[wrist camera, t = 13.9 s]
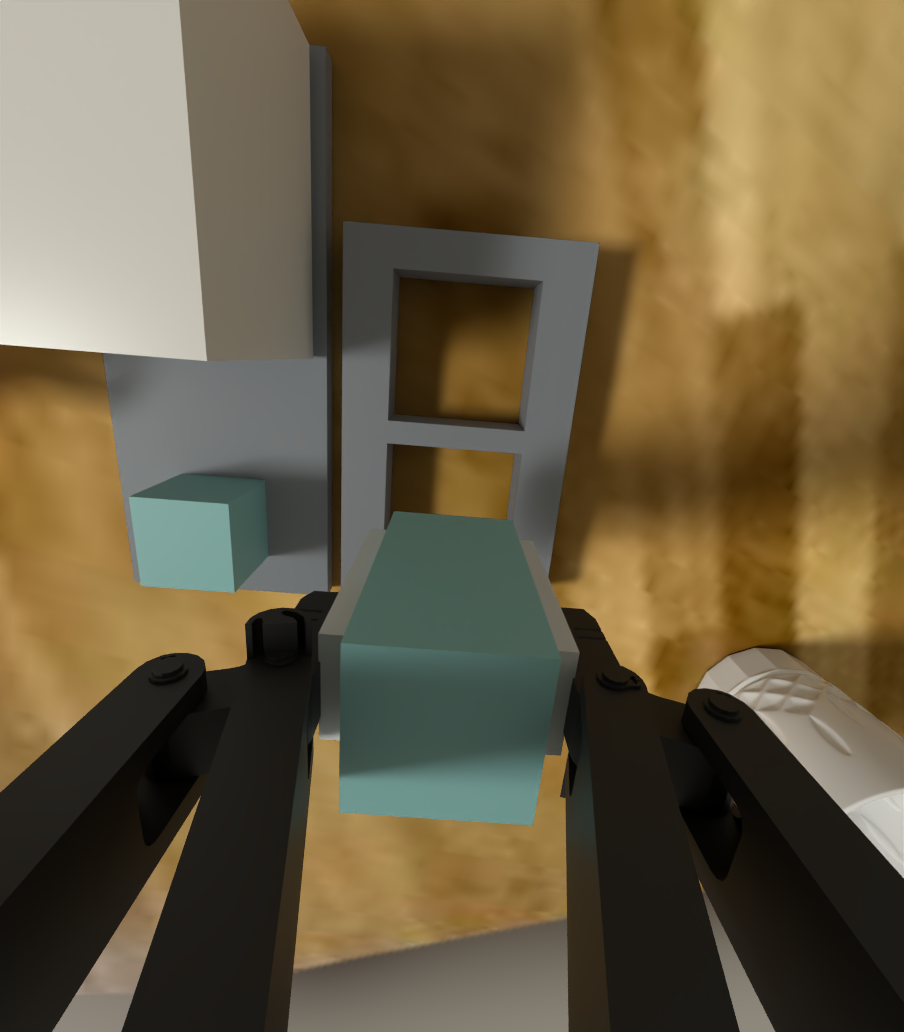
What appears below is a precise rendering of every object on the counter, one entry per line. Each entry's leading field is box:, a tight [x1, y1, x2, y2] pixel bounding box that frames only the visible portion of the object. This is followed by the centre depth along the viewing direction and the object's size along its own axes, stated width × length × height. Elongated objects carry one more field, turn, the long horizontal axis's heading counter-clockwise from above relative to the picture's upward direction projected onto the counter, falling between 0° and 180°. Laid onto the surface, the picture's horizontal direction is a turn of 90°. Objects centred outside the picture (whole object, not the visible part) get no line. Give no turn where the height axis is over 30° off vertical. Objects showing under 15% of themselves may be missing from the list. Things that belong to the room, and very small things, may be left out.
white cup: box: [697, 648, 904, 878], centre depth 24 cm, size 8×8×10 cm
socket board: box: [341, 221, 600, 587], centre depth 22 cm, size 16×10×2 cm, turn 176°
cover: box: [0, 0, 313, 361], centre depth 15 cm, size 11×9×10 cm
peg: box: [339, 511, 561, 825], centre depth 13 cm, size 4×4×8 cm
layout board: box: [103, 45, 332, 594], centre depth 20 cm, size 23×10×5 cm, turn 176°
